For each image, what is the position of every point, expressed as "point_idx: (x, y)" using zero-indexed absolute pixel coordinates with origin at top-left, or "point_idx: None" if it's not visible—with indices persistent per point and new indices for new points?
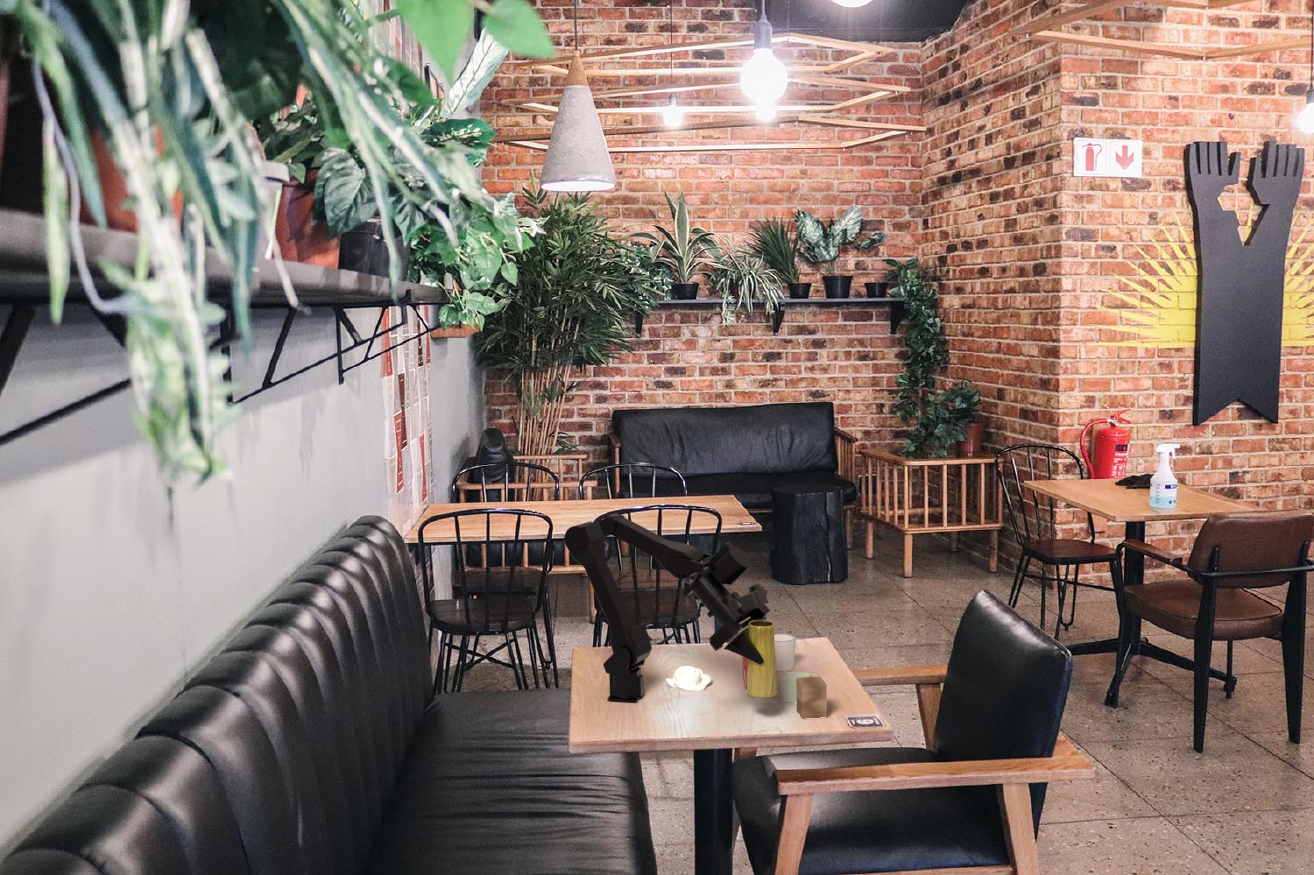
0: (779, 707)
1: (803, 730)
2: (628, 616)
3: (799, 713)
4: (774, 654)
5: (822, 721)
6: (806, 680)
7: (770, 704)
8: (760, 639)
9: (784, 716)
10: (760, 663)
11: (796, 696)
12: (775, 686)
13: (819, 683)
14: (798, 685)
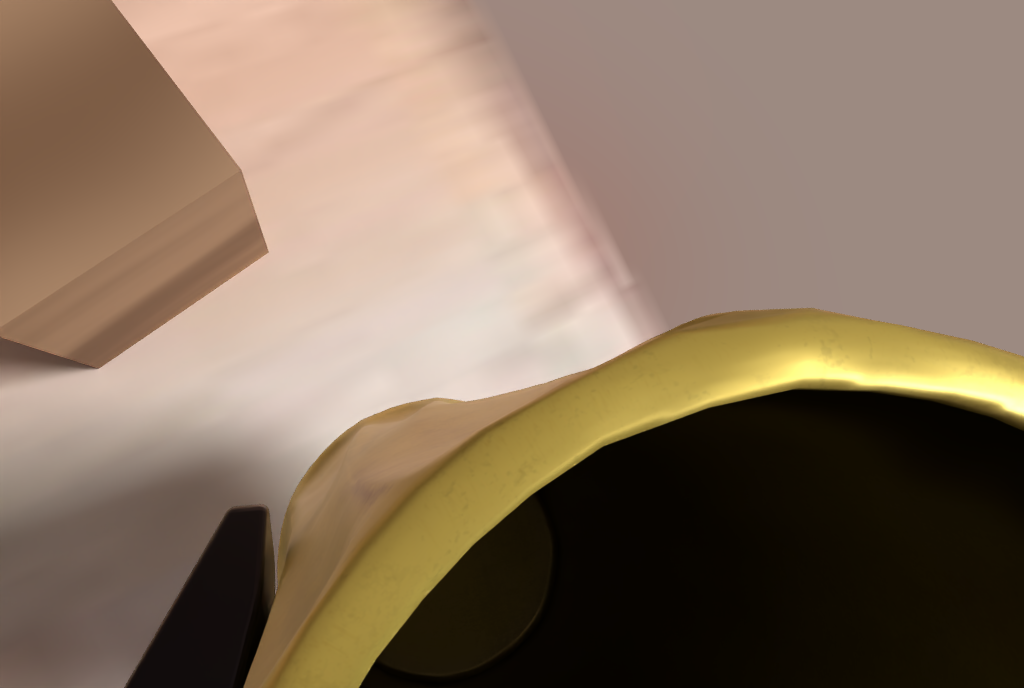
0: (82, 532)
1: (476, 164)
2: None
3: (184, 306)
4: (472, 402)
5: (239, 102)
6: (40, 187)
7: (42, 637)
8: (935, 603)
9: (271, 401)
10: None
11: (63, 355)
12: (392, 422)
13: (79, 22)
14: (105, 279)
